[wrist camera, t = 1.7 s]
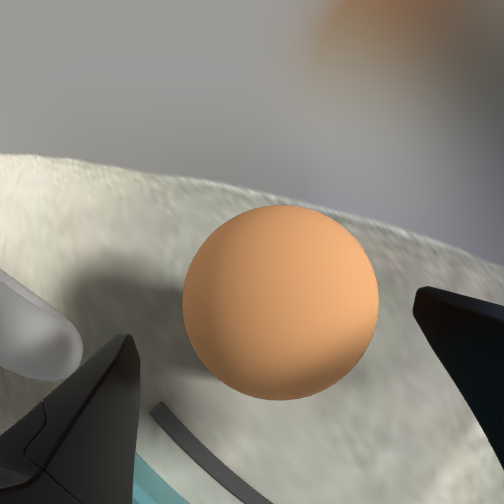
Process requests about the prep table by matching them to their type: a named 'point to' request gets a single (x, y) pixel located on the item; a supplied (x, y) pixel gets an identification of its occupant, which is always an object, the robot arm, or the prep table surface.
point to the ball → (280, 302)
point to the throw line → (205, 457)
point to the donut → (35, 335)
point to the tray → (151, 486)
